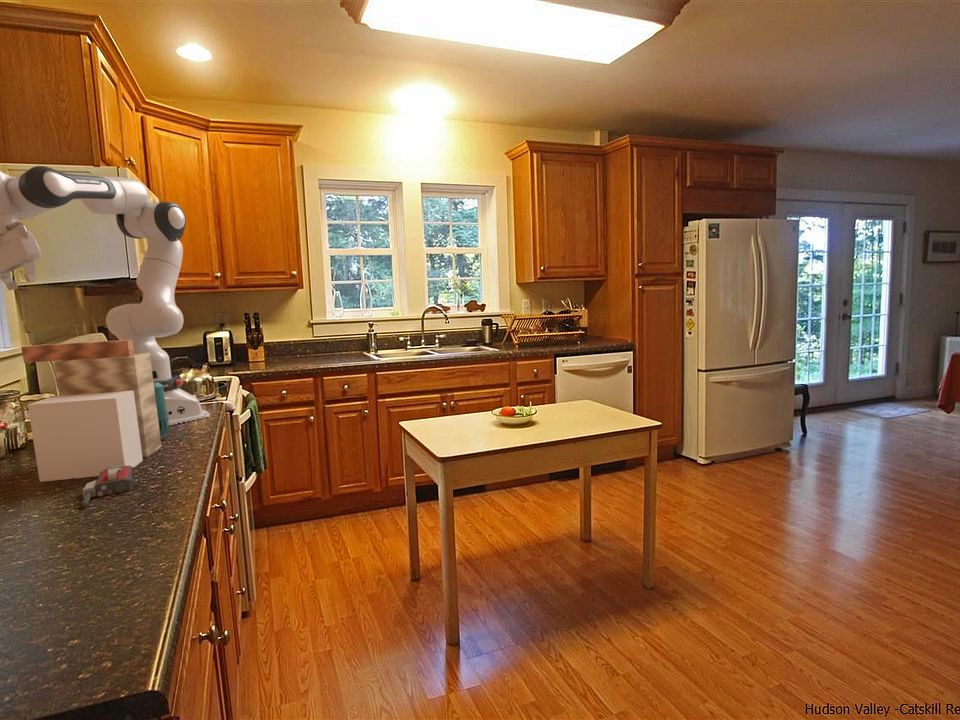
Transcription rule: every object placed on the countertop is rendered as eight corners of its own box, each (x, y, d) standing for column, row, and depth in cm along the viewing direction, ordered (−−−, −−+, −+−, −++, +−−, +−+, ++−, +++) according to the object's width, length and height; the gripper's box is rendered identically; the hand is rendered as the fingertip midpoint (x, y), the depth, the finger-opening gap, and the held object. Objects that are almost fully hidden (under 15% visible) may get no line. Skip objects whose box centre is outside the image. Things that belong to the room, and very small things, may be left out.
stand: (69, 464, 141) (54, 362, 138) (88, 453, 151) (75, 357, 148) (147, 457, 145) (134, 357, 141) (161, 446, 154) (149, 352, 151)
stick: (23, 362, 140) (21, 346, 139) (30, 361, 143) (28, 345, 142) (129, 356, 144) (127, 340, 144) (134, 354, 147) (132, 339, 146)
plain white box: (39, 481, 129) (27, 404, 126) (63, 468, 138) (52, 396, 136) (125, 473, 132) (115, 398, 129) (142, 460, 142) (133, 390, 139)
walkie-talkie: (91, 483, 127) (78, 513, 110) (88, 464, 126) (75, 491, 109) (136, 475, 131) (131, 502, 114) (133, 457, 131) (128, 481, 113)
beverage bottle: (162, 442, 159) (153, 372, 156) (139, 443, 159) (130, 373, 156) (175, 436, 165) (166, 369, 163) (152, 437, 165) (144, 369, 163)
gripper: (35, 218, 136) (58, 273, 138) (-5, 240, 145) (17, 292, 148) (5, 219, 130) (29, 277, 133) (-35, 242, 140) (-11, 296, 142)
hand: (22, 285), depth 140 cm, fingers open, 8 cm apart
